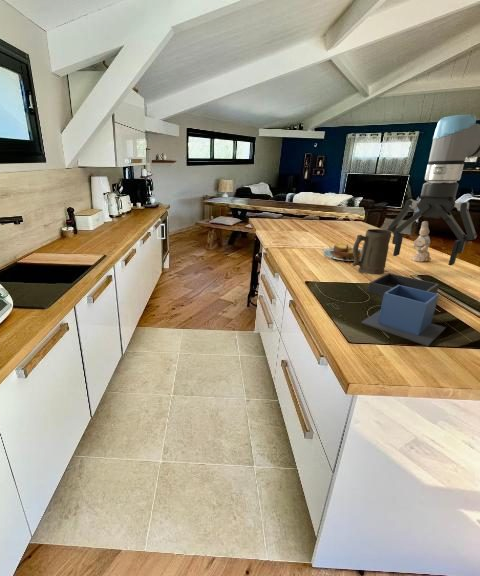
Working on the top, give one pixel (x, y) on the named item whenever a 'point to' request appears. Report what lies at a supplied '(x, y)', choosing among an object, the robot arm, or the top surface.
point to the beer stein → (372, 251)
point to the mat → (422, 338)
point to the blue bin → (408, 309)
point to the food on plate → (342, 252)
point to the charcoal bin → (393, 280)
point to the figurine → (422, 244)
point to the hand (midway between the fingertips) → (422, 259)
